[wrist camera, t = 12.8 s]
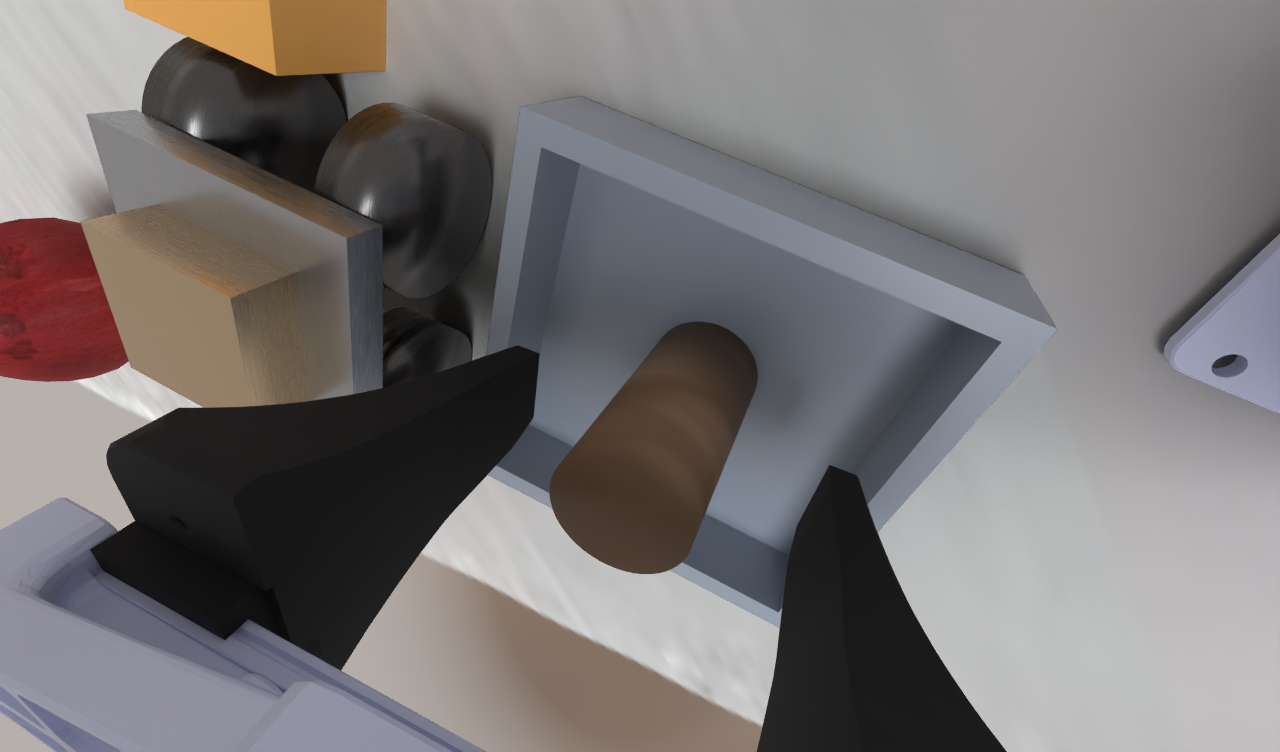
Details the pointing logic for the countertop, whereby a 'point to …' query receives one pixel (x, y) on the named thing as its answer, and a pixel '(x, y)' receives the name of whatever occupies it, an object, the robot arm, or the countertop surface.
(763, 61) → the countertop surface
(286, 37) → the block
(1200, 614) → the countertop surface
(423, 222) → the trolley
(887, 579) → the robot arm
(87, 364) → the onion
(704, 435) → the pin
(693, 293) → the tray
